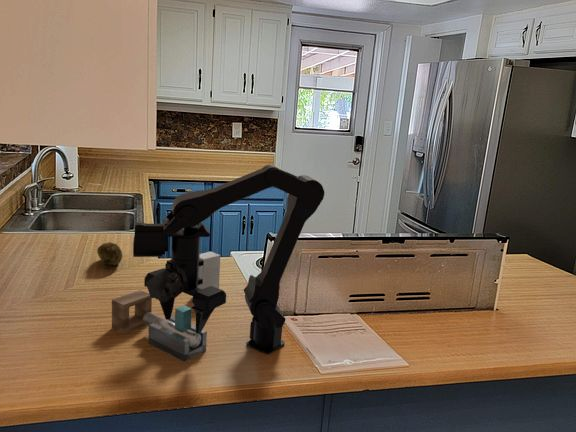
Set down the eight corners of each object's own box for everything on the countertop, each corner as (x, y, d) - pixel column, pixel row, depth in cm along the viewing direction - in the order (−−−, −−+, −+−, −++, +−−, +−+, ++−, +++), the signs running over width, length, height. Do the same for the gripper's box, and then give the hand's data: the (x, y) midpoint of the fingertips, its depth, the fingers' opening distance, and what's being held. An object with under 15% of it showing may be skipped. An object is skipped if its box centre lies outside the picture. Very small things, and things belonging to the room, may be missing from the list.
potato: (129, 259, 157) (129, 235, 155) (118, 273, 144) (118, 247, 143) (102, 257, 156) (102, 233, 154) (89, 271, 144) (89, 245, 142)
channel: (206, 350, 105) (206, 331, 104) (184, 361, 100) (185, 341, 99) (170, 333, 111) (171, 315, 110) (148, 343, 106) (148, 324, 105)
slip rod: (200, 344, 104) (202, 312, 102) (190, 349, 101) (192, 316, 99) (153, 322, 112) (153, 291, 110) (142, 326, 109) (143, 295, 107)
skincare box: (208, 291, 137) (210, 250, 134) (219, 296, 134) (221, 254, 131) (191, 297, 132) (193, 255, 129) (202, 302, 129) (203, 259, 127)
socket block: (151, 322, 116) (151, 294, 114) (123, 333, 109) (123, 304, 108) (140, 317, 118) (140, 290, 116) (111, 328, 112) (111, 299, 110)
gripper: (123, 253, 99) (123, 324, 102) (189, 278, 89) (186, 355, 92) (165, 242, 108) (163, 308, 111) (229, 264, 98) (225, 335, 101)
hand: (183, 325), depth 104 cm, fingers open, 9 cm apart
